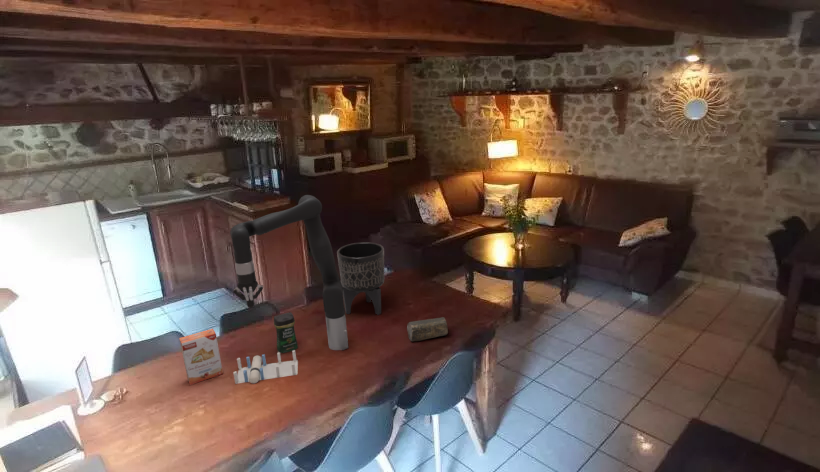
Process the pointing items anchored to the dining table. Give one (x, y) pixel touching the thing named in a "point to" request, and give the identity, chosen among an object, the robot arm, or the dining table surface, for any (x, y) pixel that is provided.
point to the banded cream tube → (255, 369)
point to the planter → (361, 272)
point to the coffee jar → (285, 332)
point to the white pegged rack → (267, 369)
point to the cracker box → (201, 356)
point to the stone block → (427, 329)
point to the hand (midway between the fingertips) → (251, 307)
